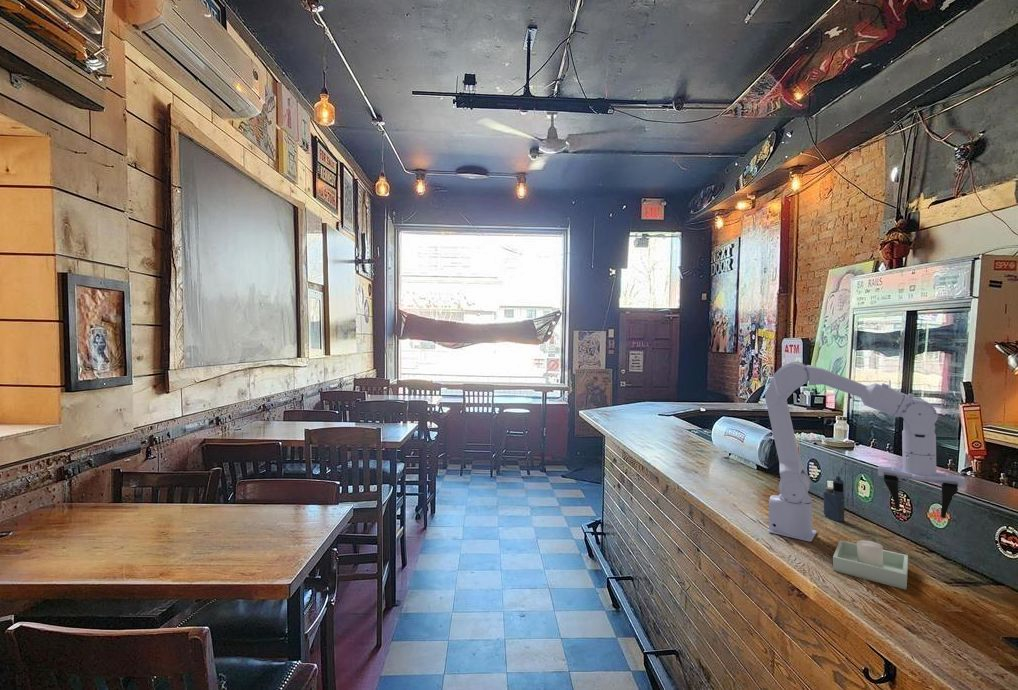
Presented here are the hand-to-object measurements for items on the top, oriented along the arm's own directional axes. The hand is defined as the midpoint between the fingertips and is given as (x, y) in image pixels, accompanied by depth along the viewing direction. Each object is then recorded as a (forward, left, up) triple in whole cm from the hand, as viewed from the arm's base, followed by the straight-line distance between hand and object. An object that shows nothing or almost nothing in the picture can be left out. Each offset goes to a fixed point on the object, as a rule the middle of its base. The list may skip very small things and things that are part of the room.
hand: (919, 512), depth 104 cm
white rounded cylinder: (-8, -13, -10) cm, 19 cm away
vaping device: (-18, +16, -11) cm, 26 cm away
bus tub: (-8, -14, -10) cm, 19 cm away
